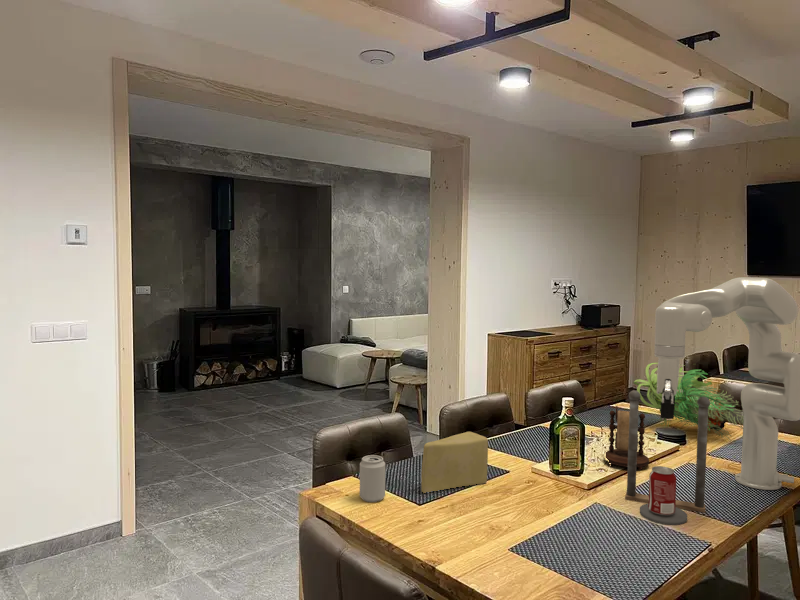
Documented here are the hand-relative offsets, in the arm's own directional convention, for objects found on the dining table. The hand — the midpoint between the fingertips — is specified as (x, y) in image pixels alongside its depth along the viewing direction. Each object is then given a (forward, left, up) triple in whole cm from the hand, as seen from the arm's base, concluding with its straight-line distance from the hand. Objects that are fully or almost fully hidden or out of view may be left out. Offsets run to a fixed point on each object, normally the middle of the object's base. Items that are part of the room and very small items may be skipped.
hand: (667, 413), depth 164 cm
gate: (0, -9, -28) cm, 30 cm away
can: (+77, +25, -29) cm, 86 cm away
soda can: (+1, +1, -27) cm, 27 cm away
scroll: (+14, -40, -29) cm, 51 cm away
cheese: (+60, +6, -29) cm, 67 cm away
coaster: (0, 0, -28) cm, 28 cm away
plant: (-8, -90, -29) cm, 95 cm away
